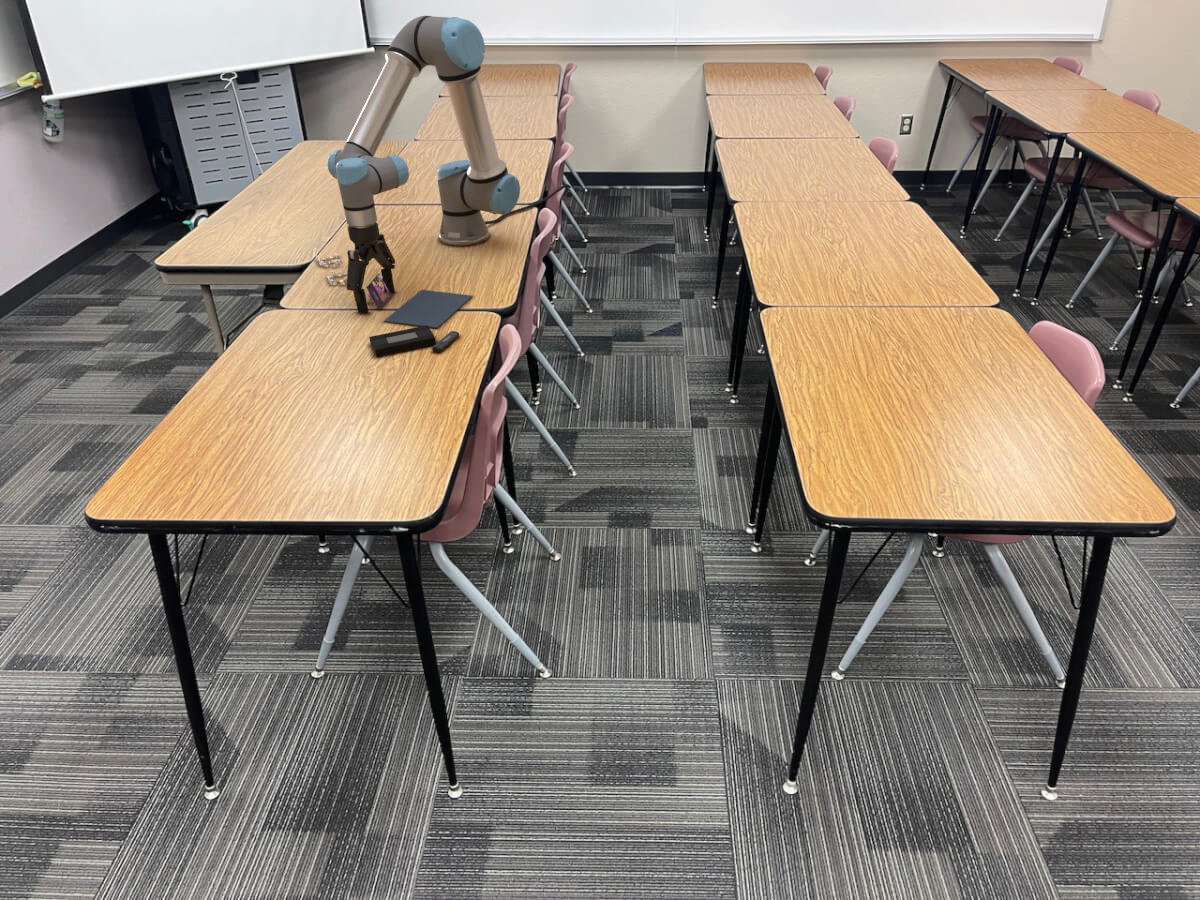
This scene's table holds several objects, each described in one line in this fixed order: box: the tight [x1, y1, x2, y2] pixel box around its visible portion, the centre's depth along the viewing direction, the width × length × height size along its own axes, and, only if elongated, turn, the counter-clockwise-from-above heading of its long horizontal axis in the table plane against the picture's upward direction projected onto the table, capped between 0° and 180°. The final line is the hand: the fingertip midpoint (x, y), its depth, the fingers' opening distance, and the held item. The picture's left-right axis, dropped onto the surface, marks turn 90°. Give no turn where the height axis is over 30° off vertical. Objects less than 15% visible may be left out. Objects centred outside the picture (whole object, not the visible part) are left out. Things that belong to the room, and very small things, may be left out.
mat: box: [384, 289, 473, 330], centre depth 212 cm, size 20×15×1 cm
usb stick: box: [431, 330, 460, 353], centre depth 195 cm, size 10×3×2 cm, turn 158°
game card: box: [365, 273, 392, 311], centre depth 215 cm, size 7×5×9 cm
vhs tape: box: [368, 325, 437, 358], centre depth 195 cm, size 8×14×2 cm, turn 114°
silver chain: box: [315, 252, 348, 287], centre depth 234 cm, size 7×25×2 cm, turn 25°
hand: (377, 302), depth 216 cm, fingers open, 13 cm apart
